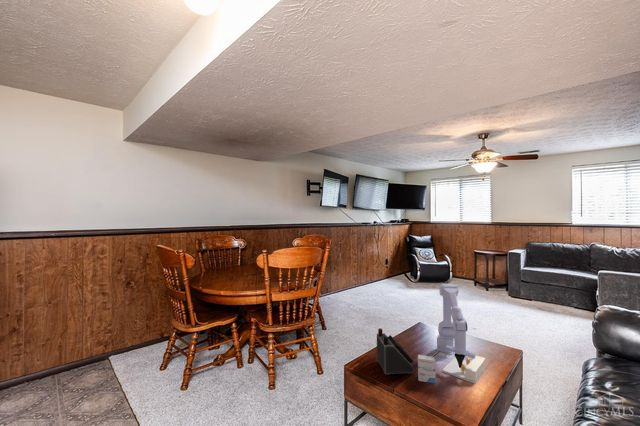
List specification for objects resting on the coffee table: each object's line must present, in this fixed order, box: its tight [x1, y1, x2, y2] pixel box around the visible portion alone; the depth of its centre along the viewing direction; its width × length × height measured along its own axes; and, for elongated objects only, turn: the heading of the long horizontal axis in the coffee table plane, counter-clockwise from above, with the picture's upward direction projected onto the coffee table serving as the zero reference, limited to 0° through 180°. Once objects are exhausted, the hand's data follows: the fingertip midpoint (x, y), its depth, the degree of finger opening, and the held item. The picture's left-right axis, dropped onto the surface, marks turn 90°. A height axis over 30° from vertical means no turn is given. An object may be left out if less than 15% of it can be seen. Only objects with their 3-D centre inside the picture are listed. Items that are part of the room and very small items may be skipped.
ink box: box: [417, 354, 437, 384], centre depth 147 cm, size 8×5×12 cm, turn 71°
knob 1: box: [461, 364, 466, 372], centre depth 151 cm, size 3×4×4 cm
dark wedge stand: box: [376, 328, 415, 376], centre depth 159 cm, size 16×16×20 cm
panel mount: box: [442, 355, 487, 385], centre depth 156 cm, size 16×20×6 cm
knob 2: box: [466, 357, 472, 365], centre depth 158 cm, size 3×4×4 cm
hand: (460, 367), depth 153 cm, fingers closed
